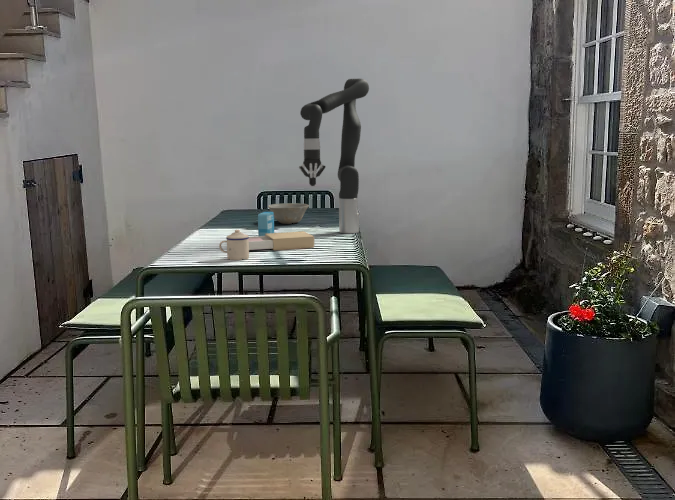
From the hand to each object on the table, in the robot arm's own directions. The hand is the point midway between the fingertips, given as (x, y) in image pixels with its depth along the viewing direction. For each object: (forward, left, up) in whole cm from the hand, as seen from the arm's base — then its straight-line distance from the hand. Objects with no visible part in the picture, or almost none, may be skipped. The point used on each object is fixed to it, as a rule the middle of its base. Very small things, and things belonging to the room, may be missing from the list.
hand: (312, 185), depth 309 cm
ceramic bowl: (-3, -58, -25) cm, 63 cm away
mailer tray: (+22, +16, -24) cm, 37 cm away
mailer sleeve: (+16, +16, -25) cm, 34 cm away
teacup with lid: (+44, +36, -25) cm, 62 cm away
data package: (+20, -12, -25) cm, 34 cm away
